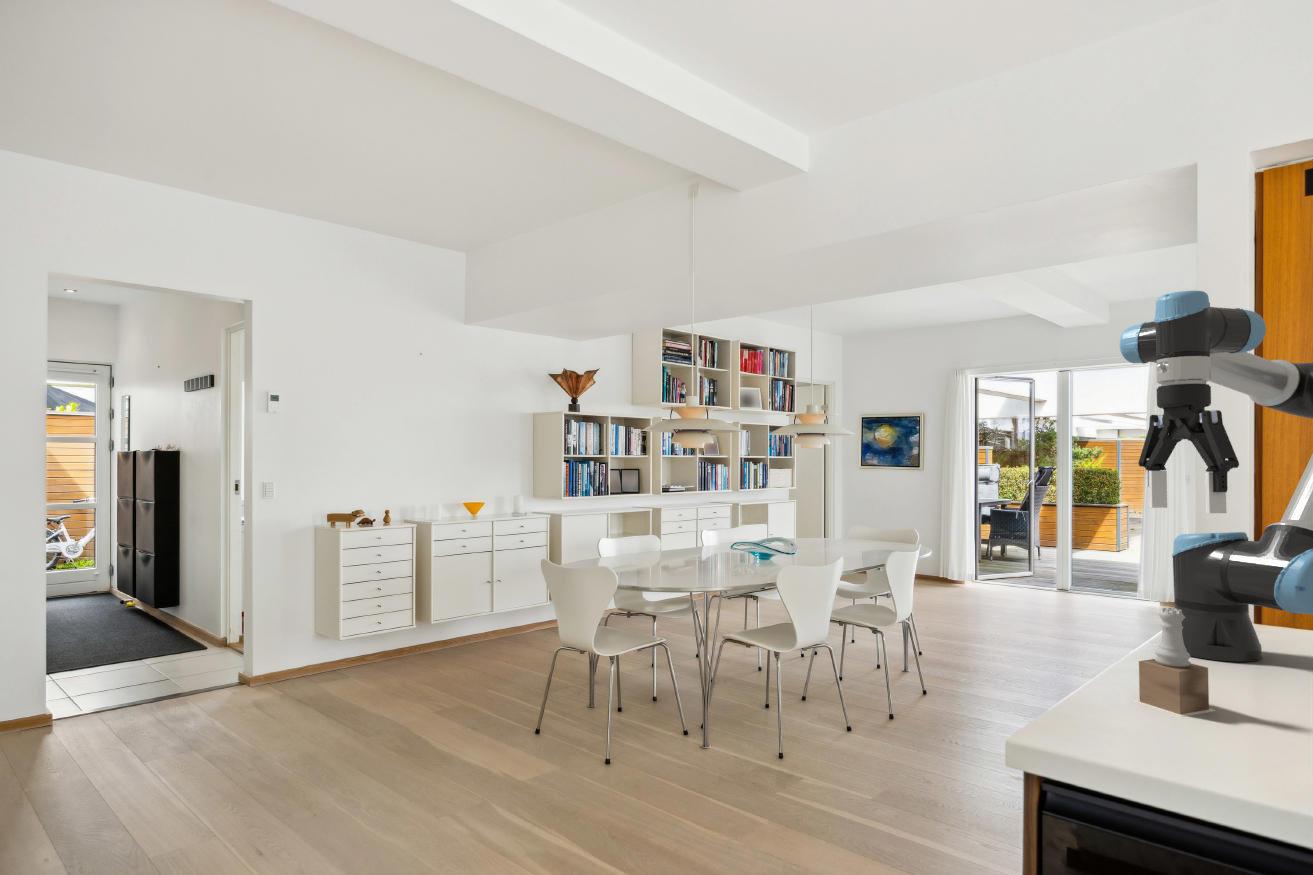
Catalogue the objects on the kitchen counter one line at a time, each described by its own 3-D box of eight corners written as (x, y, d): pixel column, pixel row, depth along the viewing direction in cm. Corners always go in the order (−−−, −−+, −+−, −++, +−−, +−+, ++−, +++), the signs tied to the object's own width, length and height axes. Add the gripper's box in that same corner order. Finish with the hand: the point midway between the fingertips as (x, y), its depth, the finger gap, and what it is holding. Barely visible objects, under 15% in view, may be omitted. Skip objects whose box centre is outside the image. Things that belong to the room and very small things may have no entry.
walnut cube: (1167, 697, 114) (1167, 657, 114) (1209, 709, 108) (1208, 667, 108) (1139, 701, 112) (1138, 660, 112) (1180, 714, 106) (1179, 671, 106)
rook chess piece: (1192, 670, 107) (1191, 613, 107) (1155, 665, 109) (1154, 610, 110) (1190, 662, 111) (1189, 608, 111) (1153, 658, 113) (1152, 605, 113)
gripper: (1115, 390, 139) (1117, 505, 139) (1216, 376, 114) (1219, 515, 114) (1155, 390, 139) (1157, 505, 139) (1265, 376, 114) (1269, 515, 114)
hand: (1185, 510), depth 126 cm, fingers open, 13 cm apart
